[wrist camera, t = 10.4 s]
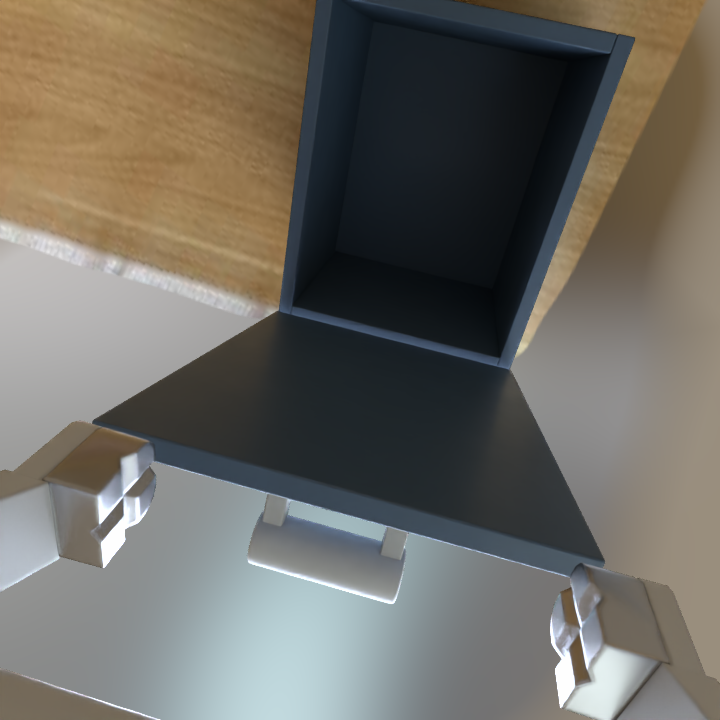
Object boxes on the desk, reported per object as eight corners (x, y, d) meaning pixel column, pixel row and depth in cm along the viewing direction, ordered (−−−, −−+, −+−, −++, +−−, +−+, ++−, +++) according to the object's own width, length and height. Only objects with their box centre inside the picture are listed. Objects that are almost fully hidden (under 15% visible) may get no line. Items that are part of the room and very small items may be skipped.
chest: (366, 6, 36) (319, -28, 25) (582, 50, 35) (636, 37, 24) (326, 255, 44) (278, 313, 33) (499, 296, 43) (508, 372, 32)
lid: (90, 419, 15) (78, 560, 16) (606, 561, 14) (548, 699, 15) (276, 310, 33) (263, 382, 34) (511, 369, 32) (488, 441, 33)
